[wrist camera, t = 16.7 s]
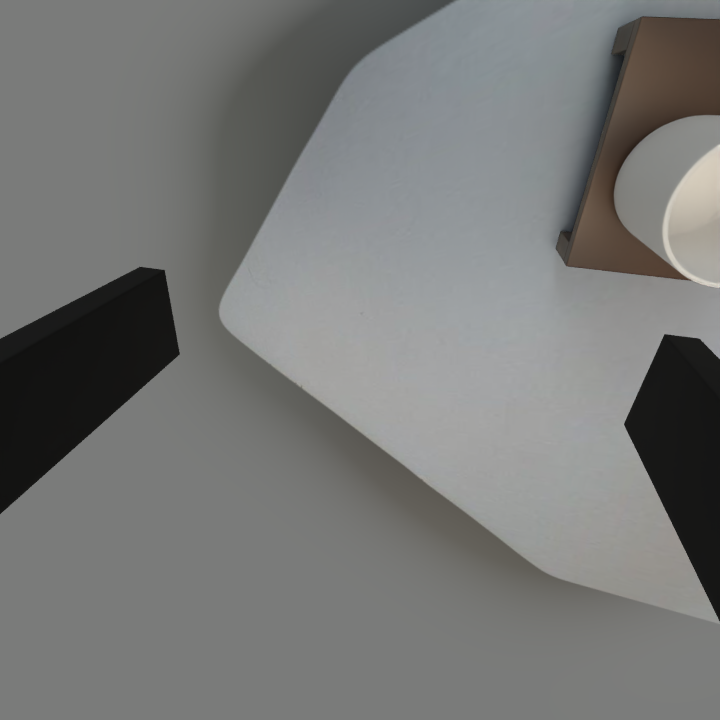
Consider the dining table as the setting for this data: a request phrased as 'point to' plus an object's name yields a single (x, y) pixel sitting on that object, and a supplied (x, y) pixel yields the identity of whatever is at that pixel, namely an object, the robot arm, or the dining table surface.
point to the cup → (676, 196)
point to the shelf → (642, 132)
